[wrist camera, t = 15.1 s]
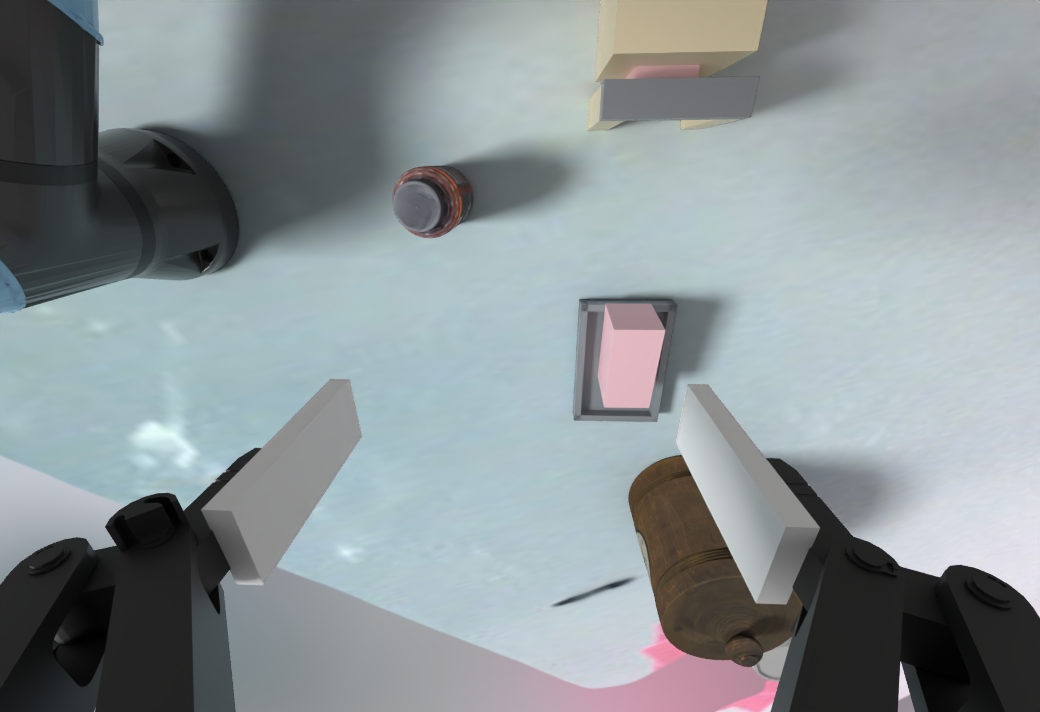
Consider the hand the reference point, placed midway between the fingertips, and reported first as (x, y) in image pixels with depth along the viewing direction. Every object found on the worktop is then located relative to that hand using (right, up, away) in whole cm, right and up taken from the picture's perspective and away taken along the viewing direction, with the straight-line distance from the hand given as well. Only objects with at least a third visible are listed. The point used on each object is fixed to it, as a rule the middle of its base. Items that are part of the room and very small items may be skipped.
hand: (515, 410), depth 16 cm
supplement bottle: (-8, +19, +27) cm, 34 cm away
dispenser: (+12, +29, +21) cm, 38 cm away
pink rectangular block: (+12, +4, +31) cm, 34 cm away
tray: (+12, +2, +34) cm, 36 cm away
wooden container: (+24, -18, +43) cm, 52 cm away
